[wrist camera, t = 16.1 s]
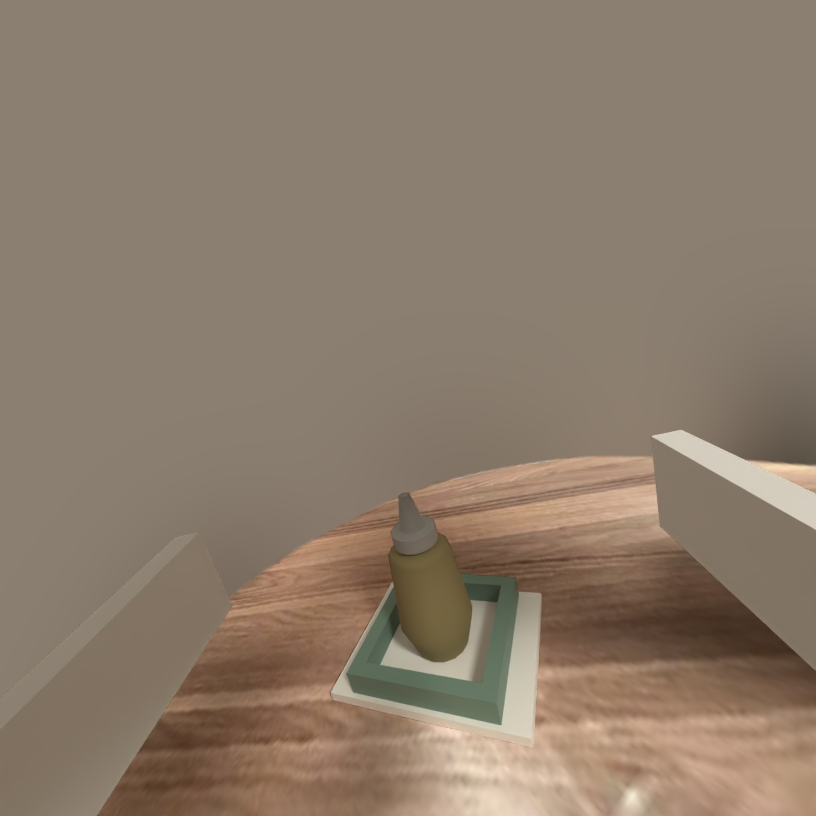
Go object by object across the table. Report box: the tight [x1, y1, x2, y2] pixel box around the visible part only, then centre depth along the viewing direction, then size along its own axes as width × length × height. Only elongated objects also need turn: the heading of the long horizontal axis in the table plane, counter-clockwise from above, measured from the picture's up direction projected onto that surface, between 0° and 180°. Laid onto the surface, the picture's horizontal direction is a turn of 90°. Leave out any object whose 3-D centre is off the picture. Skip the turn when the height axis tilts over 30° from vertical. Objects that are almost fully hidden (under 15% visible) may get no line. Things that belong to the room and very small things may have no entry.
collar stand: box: [331, 574, 542, 748], centre depth 42 cm, size 20×16×4 cm
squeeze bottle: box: [388, 493, 472, 662], centre depth 40 cm, size 8×8×18 cm
